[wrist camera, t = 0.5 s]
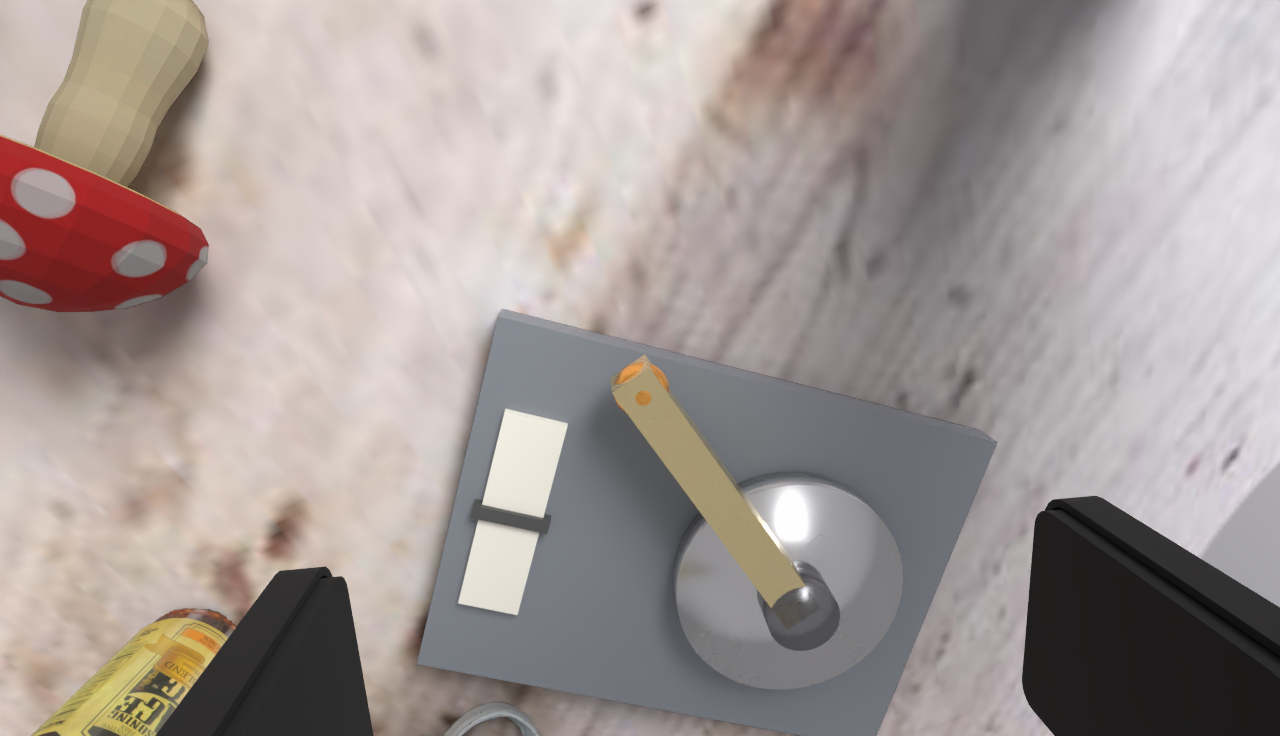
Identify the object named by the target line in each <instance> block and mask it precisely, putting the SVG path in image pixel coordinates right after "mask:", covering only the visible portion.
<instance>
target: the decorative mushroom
mask: <svg viewBox="0 0 1280 736" xmlns="http://www.w3.org/2000/svg"><path fill="white" fill-rule="evenodd" d="M207 47H208V37H207V31H206V25H205V19H204V16H203V14H202V13H201V11H200V10H199V8H198V7H197V6H196V5H195V3H194V2H193V1H192V0H87V2H86V4H85V6H84V8H83V12H82V16H81V21H80V25H79V30H78V34H77V39H76V43H75V47H74V52H73V56H72V60H71V62H70V65H69V68H68V70H67V73H66V75H65V78H64V81H63V83H62V84H61V86H60V87H59V89H58V90H57V92H56V93H55V95H54V96H53V98H52V99H51V101H50V102H49V104H48V106H47V109H46V112H45V114H44V117H43V119H42V122H41V124H40V127H39V130H38V134H37V138H36V142H35V146H34V147H32V146H29V145H27V144H24V143H21V142H19V141H16V140H13V139H11V138H8V137H5V136H3V135H0V296H1V297H3V298H6V299H8V300H10V301H12V302H14V303H16V304H19V305H24V306H30V307H35V308H40V309H46V310H51V311H56V312H93V311H103V310H113V309H123V308H129V307H133V306H136V305H139V304H142V303H146V302H149V301H152V300H156V299H159V298H161V297H163V296H165V295H166V294H168V293H170V292H171V291H173V290H175V289H177V288H178V287H180V286H182V285H183V284H185V283H187V282H188V281H190V280H191V279H192V278H193V277H194V276H195V275H196V274H197V273H198V272H199V271H200V270H201V269H202V268H203V267H204V266H205V265H206V264H207V259H208V247H209V244H208V242H207V240H206V238H205V236H204V234H203V233H202V231H201V229H200V228H199V227H197V226H196V225H194V224H193V223H192V222H190V221H189V220H187V219H186V218H184V217H183V216H181V215H180V214H178V213H177V212H175V211H173V210H171V209H169V208H167V207H165V206H164V205H162V204H160V203H158V202H156V201H154V200H152V199H150V198H148V197H146V196H144V195H143V194H140V193H138V192H136V191H134V190H132V189H130V188H128V186H129V185H130V184H131V182H132V181H133V180H134V178H135V177H136V176H137V174H138V172H139V170H140V169H141V167H142V165H143V163H144V162H145V160H146V158H147V156H148V154H149V153H150V150H151V147H152V144H153V141H154V138H155V135H156V131H157V129H158V127H159V125H160V123H161V122H162V120H163V118H164V116H165V115H166V113H167V111H168V109H169V108H170V106H171V105H172V104H173V103H174V101H175V100H176V99H177V97H178V96H179V95H180V93H181V92H182V91H183V89H184V88H185V87H186V86H187V84H188V83H189V82H190V80H191V79H192V78H193V76H194V75H195V74H196V73H197V70H198V68H199V66H200V64H201V61H202V59H203V57H204V54H205V52H206V50H207Z"/></svg>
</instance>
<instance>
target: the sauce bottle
mask: <svg viewBox="0 0 1280 736" xmlns="http://www.w3.org/2000/svg"><path fill="white" fill-rule="evenodd" d="M236 627H237V626H236V625H235V624H233V623H232V622H231V621H229V620H228V619H227V618H226V617H225V616H224V615H222V614H220V613H219V612H215V611H212V610H210V609H207V610H206V609H202V610H198V609H180V610H174V611H171V612H169V613H168V614H165V615H164V616H162V617H160V618H159V619H158V620H156V621H155V622H154V623H152V624H150V625H148V626H146V627H144V628H143V629H141V630H140V631H139V632H138V633H137V634H136V635H135V636H134V637H133V638H132V639H131V640H130V641H129V642H128V643H127V644H126V645H125V646H124V647H123V648H122V649H121V650H120V651H119V652H118V653H116V654H115V655H114V656H113V657H112V658H111V659H110V660H109V661H108V662H107V663H106V664H105V665H104V666H103V667H102V668H101V669H100V670H99V671H98V672H97V673H96V674H95V675H94V676H93V677H92V678H91V679H90V680H88V681H87V682H86V683H85V684H84V685H83V686H82V687H81V688H80V689H79V690H78V691H77V692H76V693H75V694H74V695H73V696H72V697H71V698H70V699H69V700H68V701H67V702H66V703H65V704H64V705H63V706H62V707H60V708H59V709H58V710H57V711H56V712H55V713H54V714H53V715H52V716H51V717H50V718H49V719H48V720H47V721H46V722H45V723H44V724H43V725H42V726H41V727H40V728H39V729H38V730H37V731H36V732H35V733H34V734H33V735H32V736H156V734H157V733H158V732H159V730H160V729H161V727H162V726H163V725H164V723H165V722H166V721H167V719H168V718H169V717H170V715H171V714H172V713H173V711H174V710H175V709H176V707H177V706H178V705H179V703H180V702H181V701H182V699H183V698H184V697H185V695H186V694H187V693H188V691H189V690H190V689H191V687H192V686H193V685H194V683H195V682H196V681H197V679H198V678H199V677H200V675H201V674H202V673H203V671H204V670H205V669H206V667H207V666H208V664H209V663H210V662H211V660H212V659H213V658H214V656H215V655H216V654H217V652H218V651H219V650H220V648H221V647H222V646H223V644H224V643H225V642H226V640H227V639H228V638H229V636H230V635H231V634H232V632H233V631H234V630H235V628H236Z"/></svg>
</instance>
